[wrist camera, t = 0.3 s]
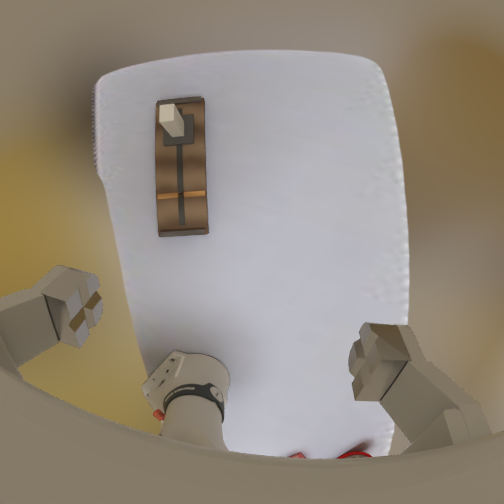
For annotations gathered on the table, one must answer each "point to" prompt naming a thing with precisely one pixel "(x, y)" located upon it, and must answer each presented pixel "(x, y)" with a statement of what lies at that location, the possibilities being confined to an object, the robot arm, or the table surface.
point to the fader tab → (176, 126)
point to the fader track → (182, 175)
